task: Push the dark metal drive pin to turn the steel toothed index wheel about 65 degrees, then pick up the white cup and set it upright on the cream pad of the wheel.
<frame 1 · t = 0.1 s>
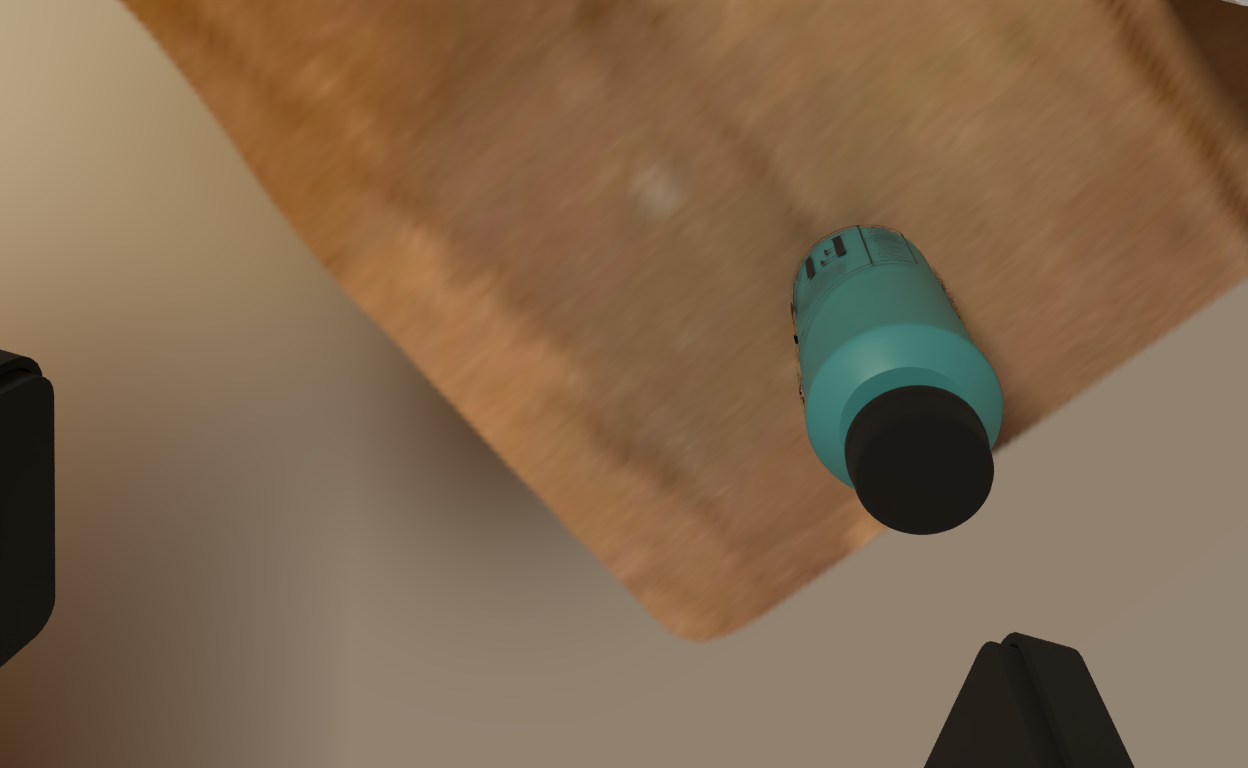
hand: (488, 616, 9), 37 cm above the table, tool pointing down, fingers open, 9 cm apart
beverage bottle: (859, 282, 46), on the table
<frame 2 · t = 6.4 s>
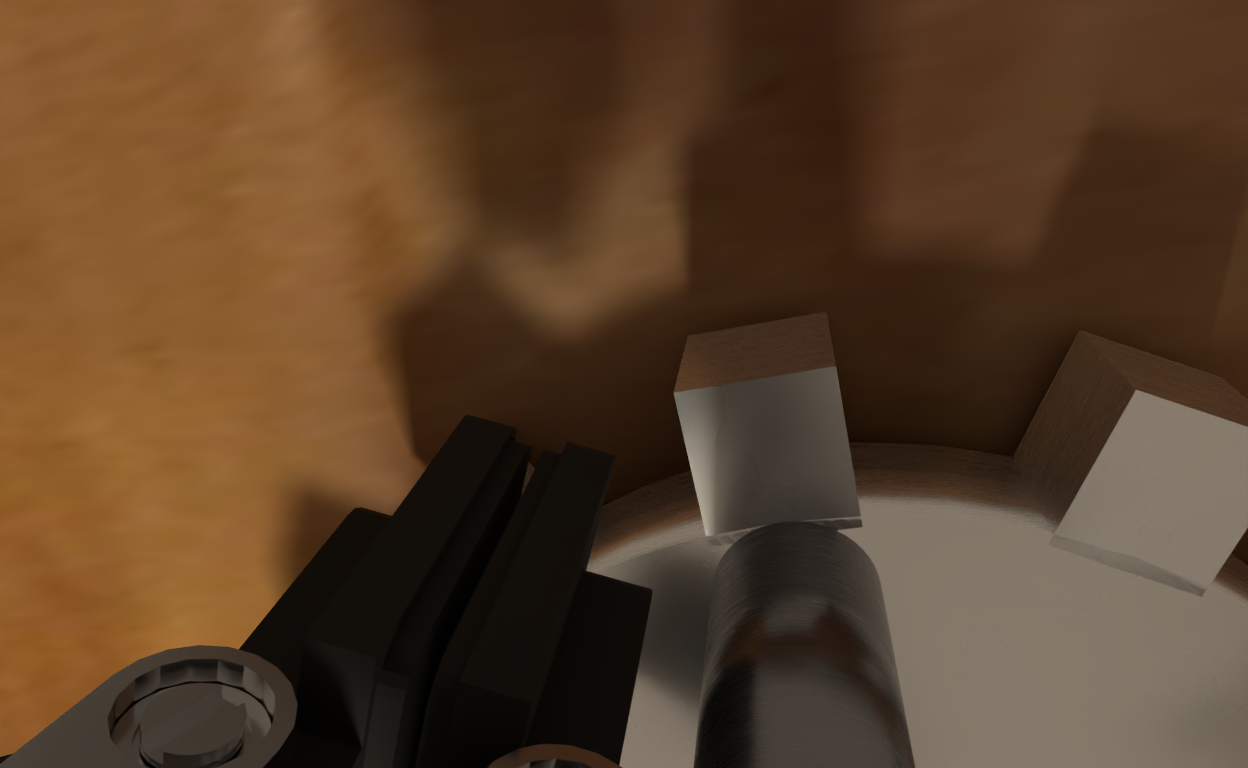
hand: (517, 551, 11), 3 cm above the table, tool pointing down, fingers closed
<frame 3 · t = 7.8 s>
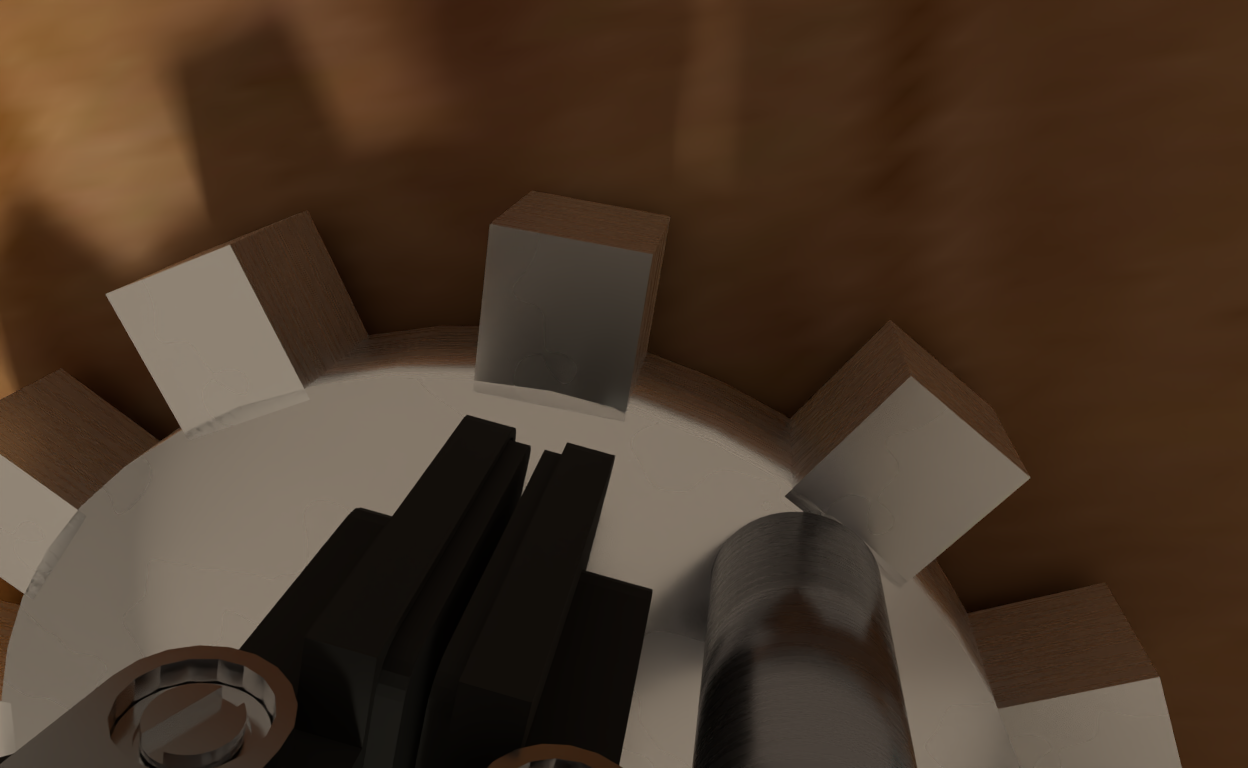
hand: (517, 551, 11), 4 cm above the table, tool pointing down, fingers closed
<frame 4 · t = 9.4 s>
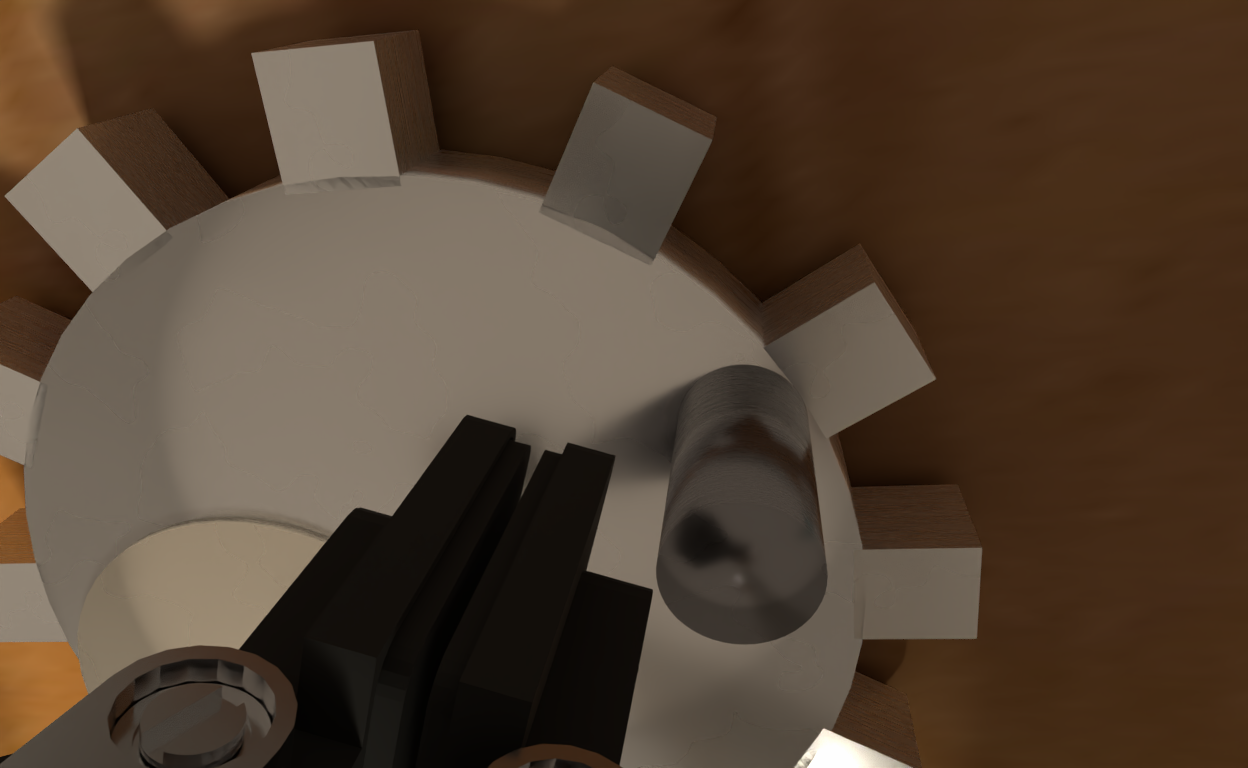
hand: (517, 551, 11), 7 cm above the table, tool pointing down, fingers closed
index wheel: (413, 636, 16), point 3 cm above the table, hinge at -71.4°
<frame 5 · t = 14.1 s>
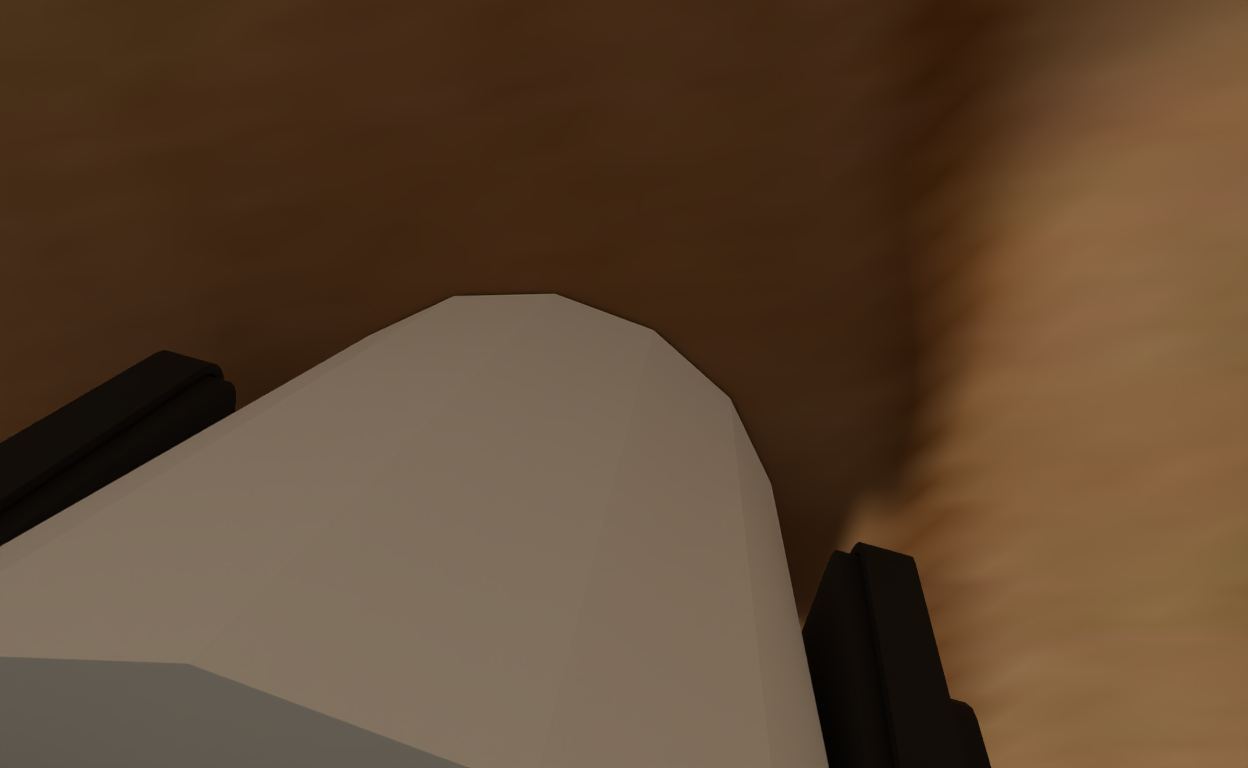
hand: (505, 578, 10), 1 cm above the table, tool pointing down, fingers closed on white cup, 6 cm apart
white cup: (534, 516, 11), on the table, touching gripper
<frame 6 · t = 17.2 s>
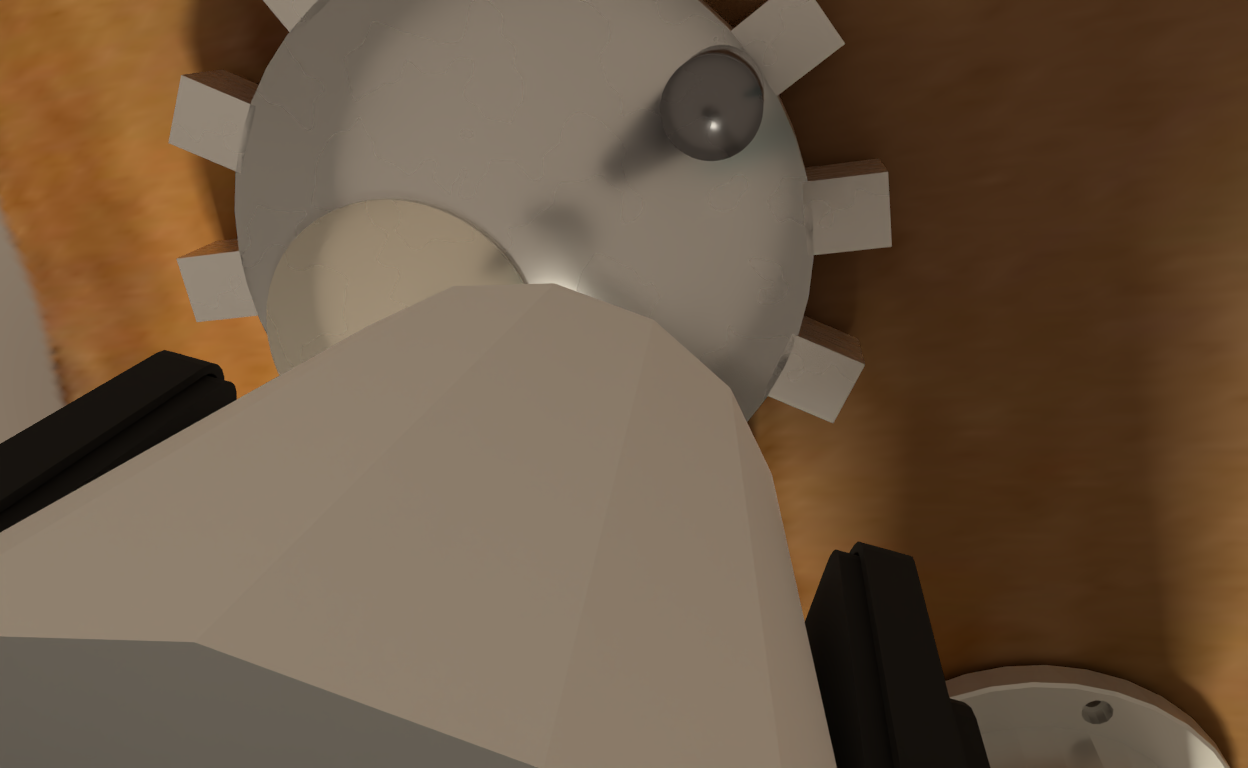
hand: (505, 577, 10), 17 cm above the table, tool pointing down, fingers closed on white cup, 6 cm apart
index wheel: (504, 263, 24), point 3 cm above the table, hinge at -71.4°
white cup: (533, 507, 11), point 16 cm above the table, touching gripper
when the fingers open (5 cm above the table, at t = 20.7 s): white cup drops 1 cm, resting on index wheel.
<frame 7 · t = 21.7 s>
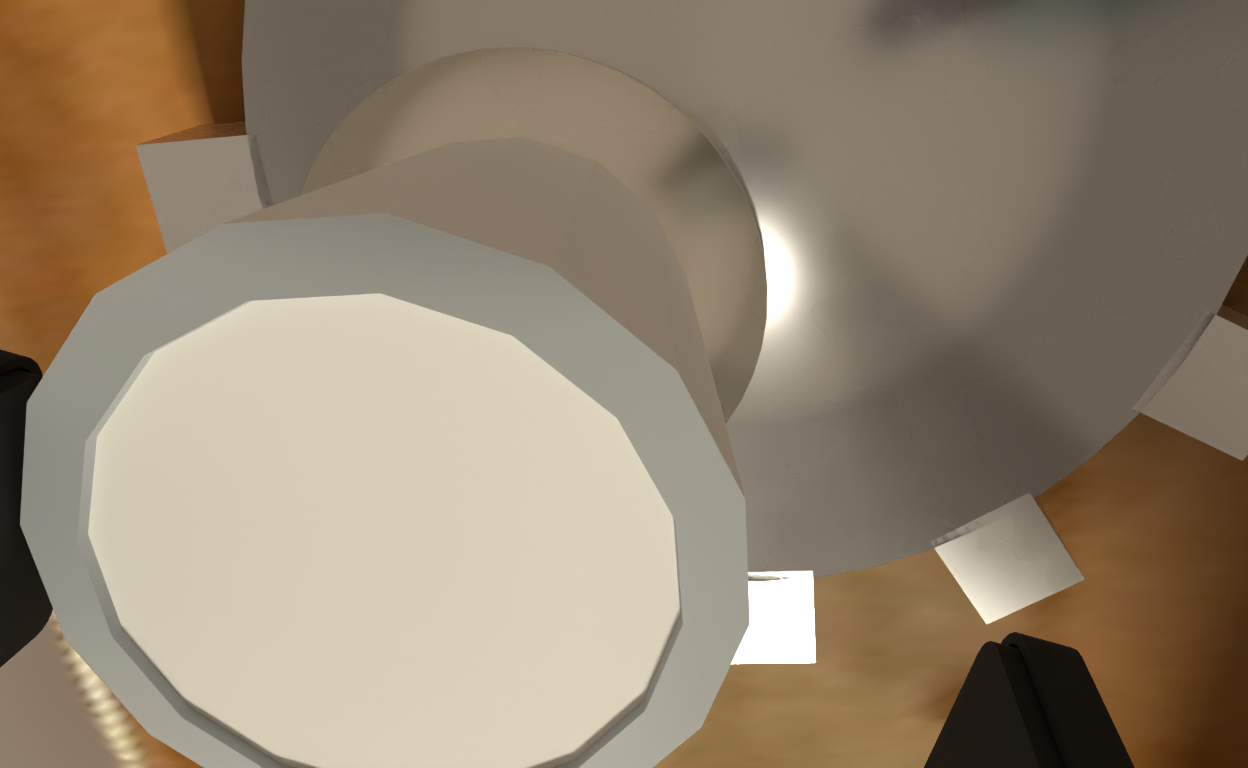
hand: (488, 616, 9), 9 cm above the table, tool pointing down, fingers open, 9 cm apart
index wheel: (738, 167, 13), point 3 cm above the table, hinge at -71.2°, touching white cup
white cup: (514, 312, 15), point 3 cm above the table, touching index wheel
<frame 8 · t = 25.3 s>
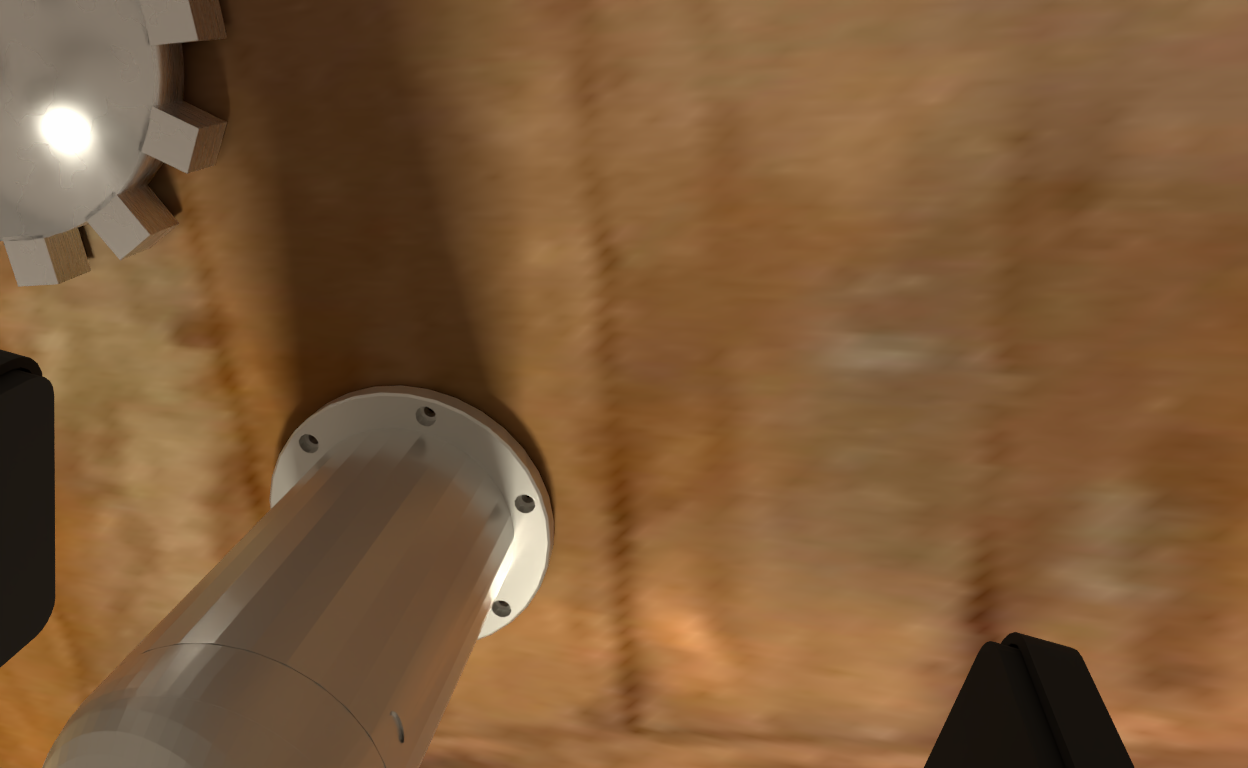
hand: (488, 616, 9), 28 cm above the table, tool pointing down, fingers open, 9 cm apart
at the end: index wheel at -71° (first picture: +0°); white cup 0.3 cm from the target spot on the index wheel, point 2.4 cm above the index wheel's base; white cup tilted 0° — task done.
